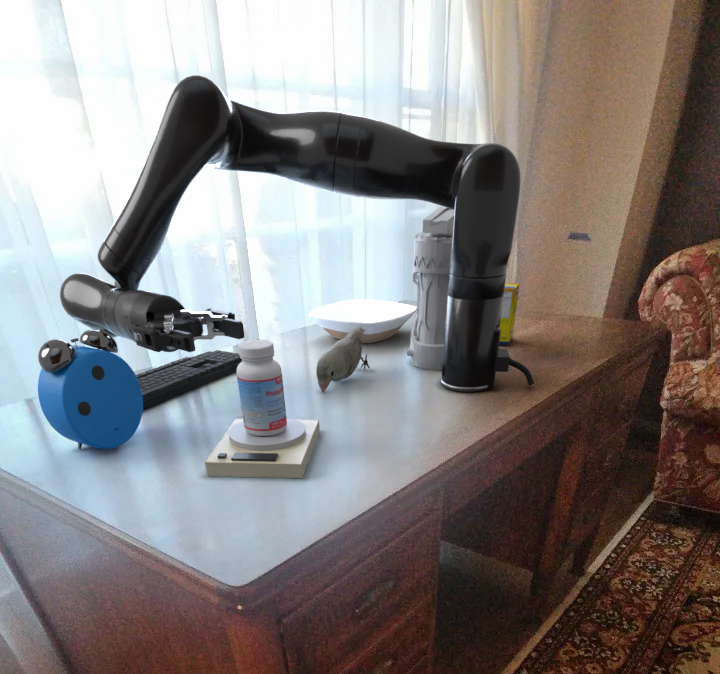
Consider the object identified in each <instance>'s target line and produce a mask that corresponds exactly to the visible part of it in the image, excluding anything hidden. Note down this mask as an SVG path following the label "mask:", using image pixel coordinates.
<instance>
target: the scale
mask: <svg viewBox="0 0 720 674" xmlns="http://www.w3.org/2000/svg"><path fill="white" fill-rule="evenodd" d="M286 418H287V428H286V429H285V430H284V431H283V432H281V433H279V434H277V435H273V436H255V435H251V434H249V433H248V432H246V430H245V427H244V421H243V418H235V419H234V420H233V422H232V423H231V425H230V426H229V427H228V429H226V432H225V433H224V434H223V435H222V437H221V439H219V441H218V443H217V444H216V446H214V448H213V449H212V451H211V452H210V454H209V456H208V457H207V458H206V459H205V461H204V465H205V471H206V475H207V477H225V478H226V477H231V478H272V479H303V477H304V474H305V472H306V470H307V467H308V465H309V461H310V459H311V456H312V454H313V452H314V449H315V446H316V444H317V441H318V438H319V435H320V433H321V429H320V420H319V419H295V418H292V417H287V416H286Z"/></svg>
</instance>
